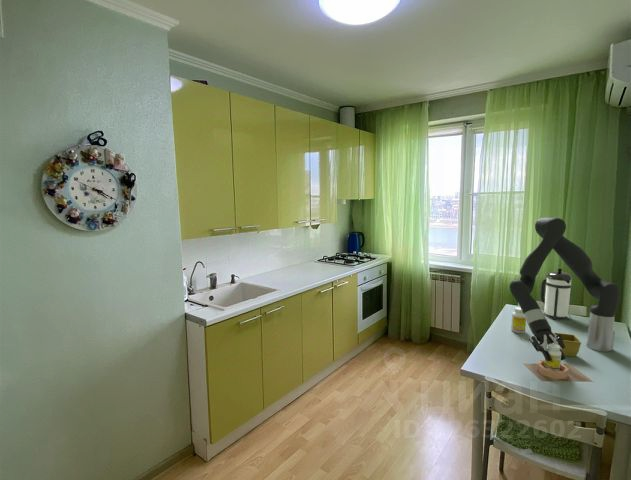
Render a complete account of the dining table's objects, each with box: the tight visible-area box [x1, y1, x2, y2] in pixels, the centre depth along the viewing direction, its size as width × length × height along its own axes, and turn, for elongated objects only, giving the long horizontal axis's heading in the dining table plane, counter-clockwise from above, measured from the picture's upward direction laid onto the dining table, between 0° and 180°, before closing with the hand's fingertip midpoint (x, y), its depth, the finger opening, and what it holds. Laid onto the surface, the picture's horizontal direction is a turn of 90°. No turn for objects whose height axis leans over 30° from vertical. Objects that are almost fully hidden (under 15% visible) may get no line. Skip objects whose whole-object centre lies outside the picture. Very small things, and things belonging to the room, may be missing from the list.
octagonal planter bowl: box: [536, 359, 569, 379], centre depth 146 cm, size 10×10×3 cm
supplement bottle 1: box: [510, 306, 527, 334], centre depth 190 cm, size 7×7×13 cm
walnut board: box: [523, 363, 594, 382], centre depth 146 cm, size 20×14×1 cm
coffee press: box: [540, 267, 573, 321], centre depth 210 cm, size 17×16×30 cm
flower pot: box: [552, 332, 582, 357], centre depth 162 cm, size 9×9×9 cm
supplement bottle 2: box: [544, 343, 562, 370], centre depth 145 cm, size 5×5×10 cm
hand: (556, 360), depth 143 cm, fingers closed on supplement bottle 2, 5 cm apart
